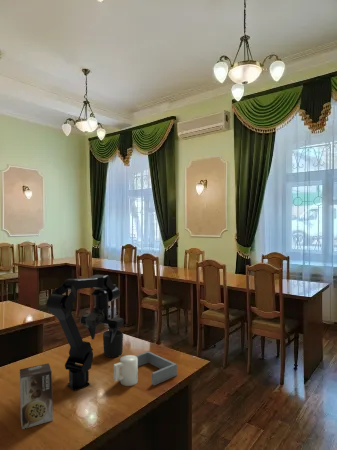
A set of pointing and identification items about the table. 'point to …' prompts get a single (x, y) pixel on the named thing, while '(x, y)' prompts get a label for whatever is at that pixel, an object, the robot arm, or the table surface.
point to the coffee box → (36, 395)
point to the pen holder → (113, 344)
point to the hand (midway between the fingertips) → (101, 340)
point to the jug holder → (166, 366)
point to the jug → (126, 370)
